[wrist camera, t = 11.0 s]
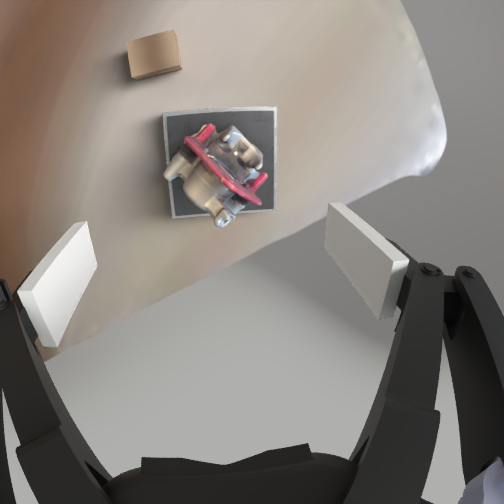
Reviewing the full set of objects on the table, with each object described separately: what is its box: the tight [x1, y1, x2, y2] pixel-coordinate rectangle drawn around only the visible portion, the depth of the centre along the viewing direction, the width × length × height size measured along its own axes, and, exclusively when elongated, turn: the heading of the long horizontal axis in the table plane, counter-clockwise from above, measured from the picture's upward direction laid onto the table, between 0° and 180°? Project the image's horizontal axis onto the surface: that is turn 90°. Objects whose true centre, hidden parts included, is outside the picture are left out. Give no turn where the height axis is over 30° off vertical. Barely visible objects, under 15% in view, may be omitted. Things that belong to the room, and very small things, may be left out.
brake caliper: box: [163, 123, 268, 228], centre depth 33 cm, size 11×11×12 cm
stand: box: [163, 107, 277, 219], centre depth 38 cm, size 14×14×4 cm
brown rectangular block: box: [126, 30, 182, 80], centre depth 30 cm, size 6×5×4 cm
